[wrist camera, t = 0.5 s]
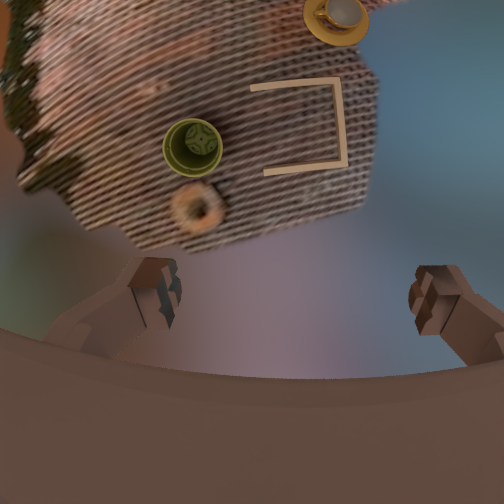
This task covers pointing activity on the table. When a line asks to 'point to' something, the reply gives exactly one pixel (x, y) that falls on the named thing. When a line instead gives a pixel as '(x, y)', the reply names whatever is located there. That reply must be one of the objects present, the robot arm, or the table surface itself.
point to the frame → (339, 120)
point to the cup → (337, 20)
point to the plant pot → (181, 144)
